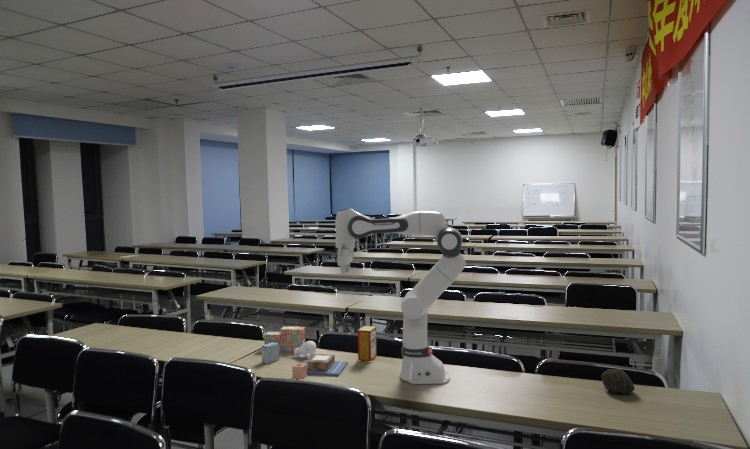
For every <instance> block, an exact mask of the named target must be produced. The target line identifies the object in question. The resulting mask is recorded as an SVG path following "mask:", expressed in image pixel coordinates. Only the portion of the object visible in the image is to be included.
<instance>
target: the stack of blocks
mask: <svg viewBox="0 0 750 449" xmlns="http://www.w3.org/2000/svg"><path fill="white" fill-rule="evenodd" d="M263 336H264V339H263V340H264V345H266V344H269V343H272V342H275V343H278V344H279V352H294V350H295V349H296V348H299V347H300V346H301V345H303V344H304V343H305V342H306V327H305V326H297V325H296V326H282V327H281V328H280V331H267V332H266V333H265V334H263Z"/></svg>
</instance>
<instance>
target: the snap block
mask: <svg viewBox="0 0 750 449" xmlns="http://www.w3.org/2000/svg"><path fill="white" fill-rule="evenodd" d="M291 372H292V374H291V375H292V380H293V379H303V380H305V379H306V378H307V377H308V376H307V375H308V374H307V364H305V363H303V362H296V363H294V365H292V371H291ZM303 380H302V381H303Z"/></svg>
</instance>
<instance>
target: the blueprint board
mask: <svg viewBox="0 0 750 449" xmlns="http://www.w3.org/2000/svg"><path fill="white" fill-rule="evenodd" d="M335 359H336V355H335V354H323V353H315V354H314V356H312V357H311V358H310V359H304V361H302V363H305V364H307V375H312V376H313V375H314V376H316V375H317V376H331V377H334V376H335V377H339V376H340V375H341V373H342V372H343V371H344V369H346V367H347V366H348V365H349V361H345V360H344V361H343V360H342V361H341V360H335ZM346 365H347V366H346Z"/></svg>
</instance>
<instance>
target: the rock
mask: <svg viewBox="0 0 750 449" xmlns="http://www.w3.org/2000/svg"><path fill="white" fill-rule="evenodd" d="M601 382H602V384H603V385H604V388H605V390H607V391H610V392H612V393H614V394H618V393H620V394H622V395H623V394H624V395H627V394H631V393H633V392H634V391H635V386H634V382H633V381H632V379H631V378H630V376H629V375H628V374H627V373H626V372H625V371H624V370H623V369H621V368H618V369H612V368H609V369H607V370H605V371H604V372H603V373H602V374H601Z"/></svg>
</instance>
